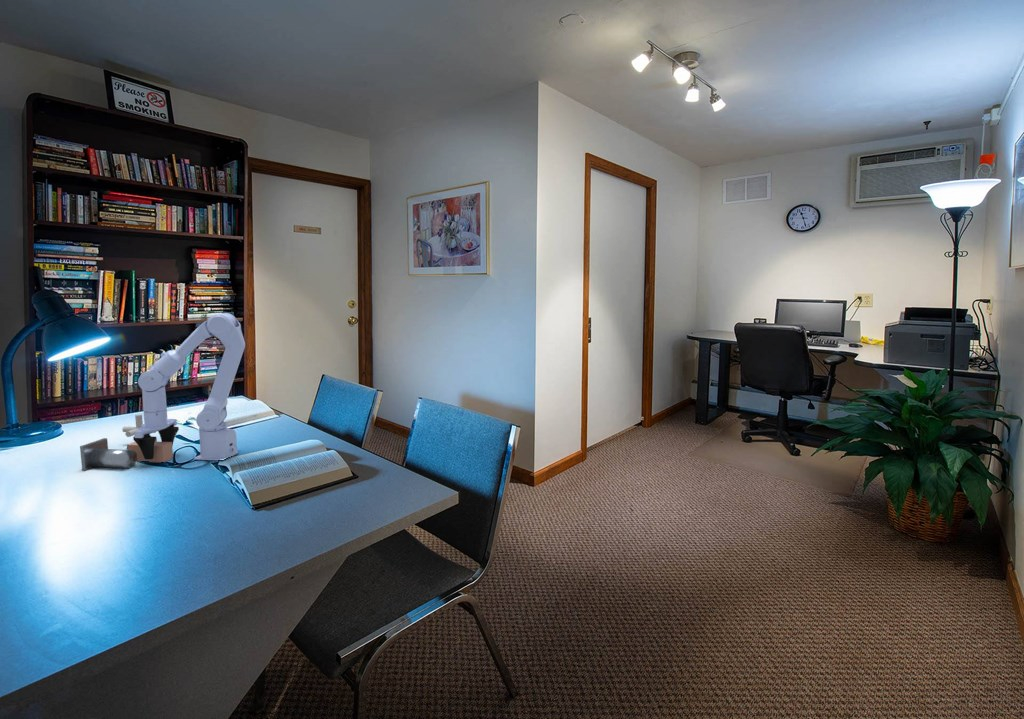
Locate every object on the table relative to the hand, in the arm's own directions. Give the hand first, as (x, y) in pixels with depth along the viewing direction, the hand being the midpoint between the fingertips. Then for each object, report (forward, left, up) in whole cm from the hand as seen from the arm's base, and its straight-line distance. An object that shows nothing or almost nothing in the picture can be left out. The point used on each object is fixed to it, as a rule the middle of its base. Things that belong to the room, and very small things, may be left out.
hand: (158, 454), depth 156 cm
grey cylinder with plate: (+8, +7, -2) cm, 11 cm away
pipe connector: (+16, -13, -2) cm, 21 cm away
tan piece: (+2, -2, -2) cm, 3 cm away
